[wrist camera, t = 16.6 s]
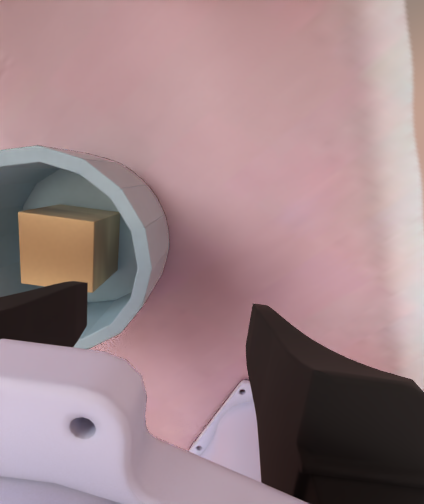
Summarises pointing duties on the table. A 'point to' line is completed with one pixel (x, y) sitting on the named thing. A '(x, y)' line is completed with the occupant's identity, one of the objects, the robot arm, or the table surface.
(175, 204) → the table surface
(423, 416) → the robot arm
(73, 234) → the block
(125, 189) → the tin
